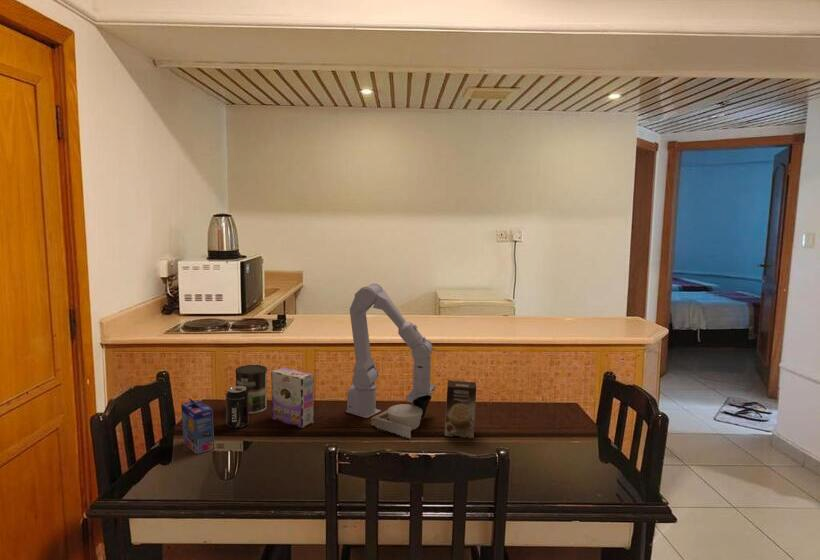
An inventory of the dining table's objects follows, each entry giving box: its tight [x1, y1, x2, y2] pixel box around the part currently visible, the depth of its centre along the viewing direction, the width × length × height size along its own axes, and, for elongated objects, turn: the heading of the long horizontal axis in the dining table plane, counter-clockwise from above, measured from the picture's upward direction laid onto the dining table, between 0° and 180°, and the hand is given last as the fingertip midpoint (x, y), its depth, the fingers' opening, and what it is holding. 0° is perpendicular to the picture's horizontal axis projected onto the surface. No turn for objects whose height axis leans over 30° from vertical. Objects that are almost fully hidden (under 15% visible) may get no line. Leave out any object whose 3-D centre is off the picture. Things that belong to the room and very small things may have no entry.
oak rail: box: [370, 409, 389, 426], centre depth 175 cm, size 2×14×2 cm, turn 146°
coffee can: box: [235, 364, 268, 415], centre depth 181 cm, size 10×10×14 cm
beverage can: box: [225, 385, 250, 429], centre depth 167 cm, size 7×7×12 cm
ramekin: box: [387, 403, 422, 431], centre depth 170 cm, size 11×11×5 cm
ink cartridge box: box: [180, 397, 215, 455], centre depth 151 cm, size 10×6×14 cm, turn 44°
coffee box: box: [444, 379, 477, 439], centre depth 165 cm, size 9×6×16 cm
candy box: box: [270, 367, 315, 429], centre depth 171 cm, size 14×6×16 cm, turn 58°
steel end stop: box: [375, 417, 412, 439], centre depth 164 cm, size 13×1×4 cm, turn 56°
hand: (420, 416), depth 176 cm, fingers closed
